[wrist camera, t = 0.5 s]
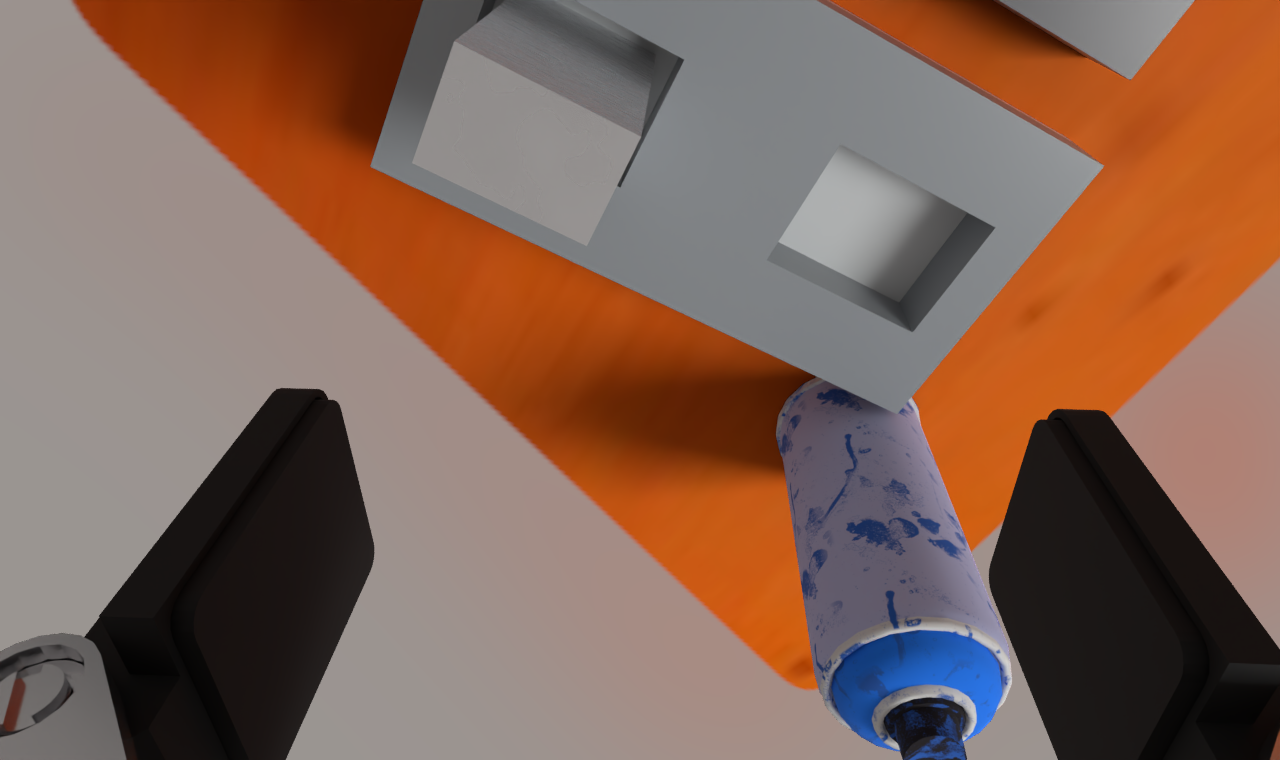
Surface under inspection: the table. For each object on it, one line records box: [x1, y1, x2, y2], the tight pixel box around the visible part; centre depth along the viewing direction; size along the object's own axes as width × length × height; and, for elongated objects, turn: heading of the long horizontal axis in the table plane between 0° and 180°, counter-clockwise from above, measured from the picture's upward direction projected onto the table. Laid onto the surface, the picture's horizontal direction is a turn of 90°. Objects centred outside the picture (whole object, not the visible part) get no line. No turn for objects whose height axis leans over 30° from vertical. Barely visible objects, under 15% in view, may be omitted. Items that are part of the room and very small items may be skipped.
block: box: [412, 0, 656, 246], centre depth 30 cm, size 4×6×12 cm, turn 64°
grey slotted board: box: [370, 0, 1104, 414], centre depth 36 cm, size 14×27×4 cm, turn 64°
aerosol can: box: [776, 377, 1012, 760], centre depth 38 cm, size 8×8×20 cm
